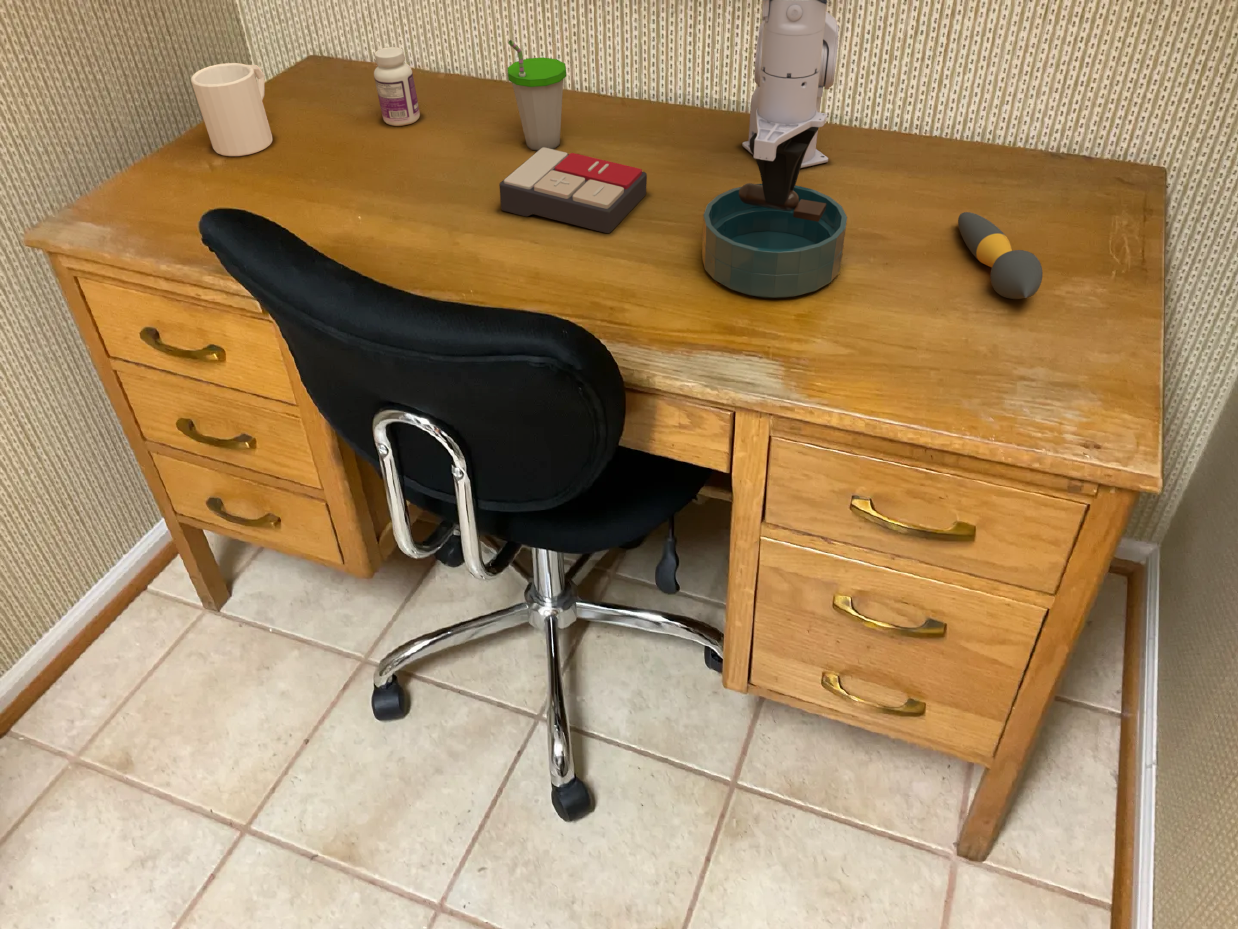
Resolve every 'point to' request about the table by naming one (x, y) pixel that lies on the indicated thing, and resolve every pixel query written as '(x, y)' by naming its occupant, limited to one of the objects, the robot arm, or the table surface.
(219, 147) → the mug
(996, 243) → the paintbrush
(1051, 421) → the table surface
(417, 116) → the pill bottle
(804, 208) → the brush
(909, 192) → the table surface
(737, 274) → the bowl
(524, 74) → the cup
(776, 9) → the robot arm
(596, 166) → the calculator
